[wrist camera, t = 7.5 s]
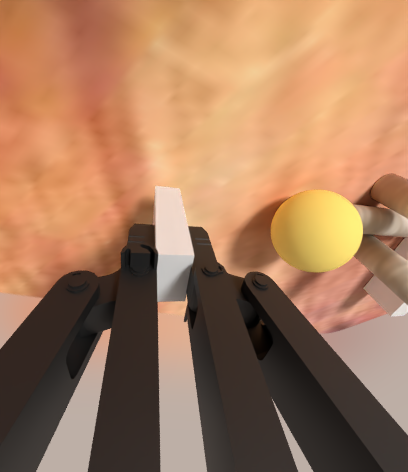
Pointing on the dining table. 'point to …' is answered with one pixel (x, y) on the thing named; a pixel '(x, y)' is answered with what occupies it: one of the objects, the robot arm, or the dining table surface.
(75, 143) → the dining table surface
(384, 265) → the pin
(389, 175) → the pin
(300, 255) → the ball
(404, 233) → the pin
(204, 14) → the dining table surface
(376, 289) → the wall
